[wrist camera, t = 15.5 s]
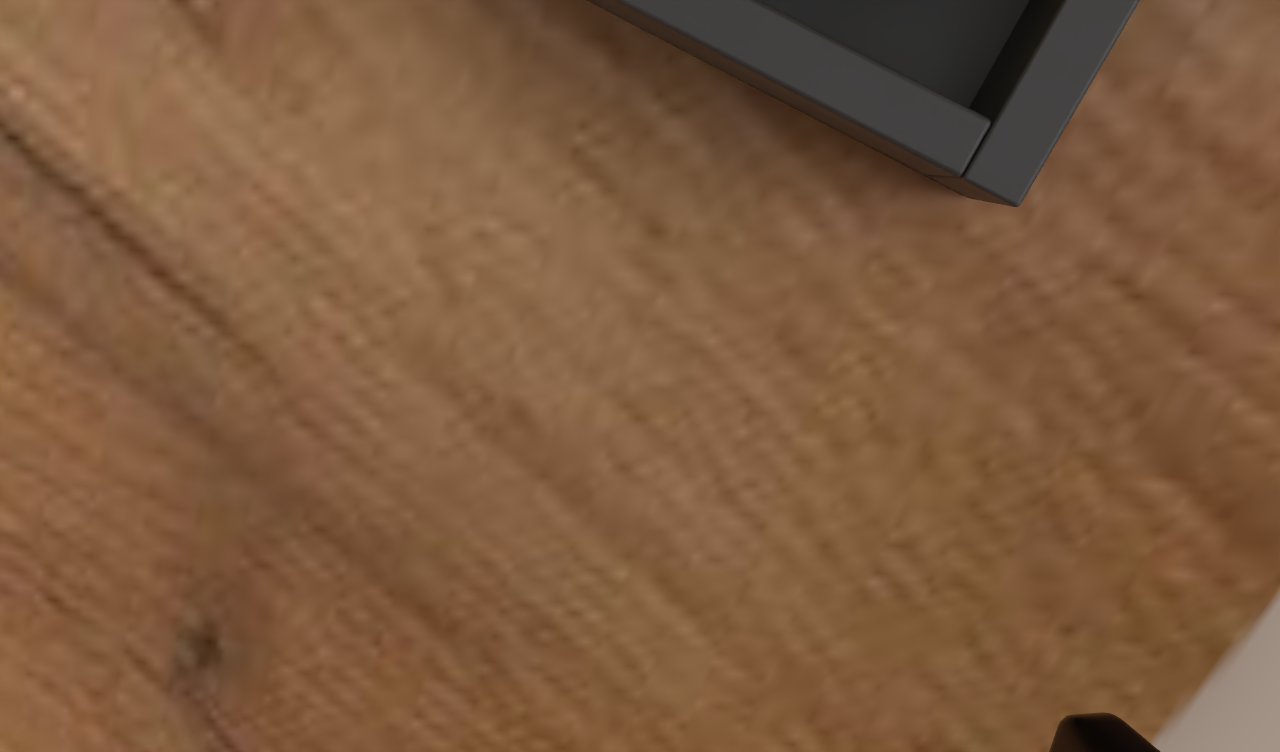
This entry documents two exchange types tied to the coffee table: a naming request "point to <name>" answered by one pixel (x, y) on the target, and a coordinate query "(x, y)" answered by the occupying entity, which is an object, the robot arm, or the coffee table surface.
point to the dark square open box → (911, 72)
